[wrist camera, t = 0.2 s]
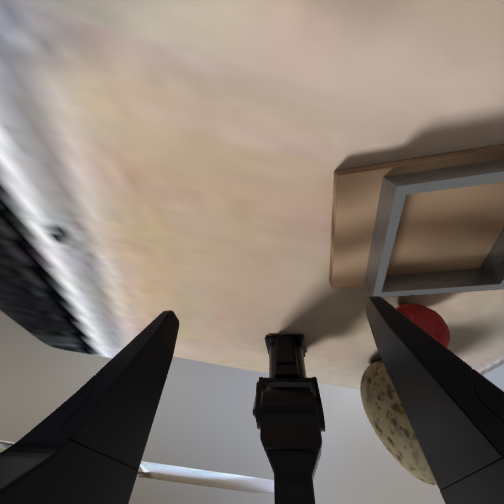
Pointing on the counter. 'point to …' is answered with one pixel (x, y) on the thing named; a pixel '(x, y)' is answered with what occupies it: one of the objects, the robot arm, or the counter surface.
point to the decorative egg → (392, 421)
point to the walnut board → (415, 219)
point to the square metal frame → (386, 224)
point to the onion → (427, 321)
